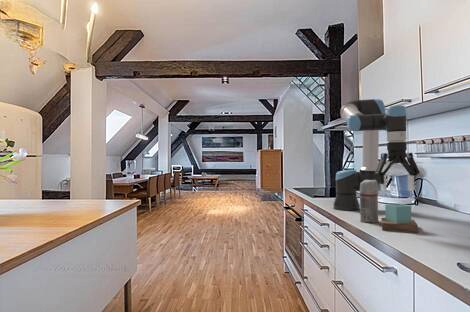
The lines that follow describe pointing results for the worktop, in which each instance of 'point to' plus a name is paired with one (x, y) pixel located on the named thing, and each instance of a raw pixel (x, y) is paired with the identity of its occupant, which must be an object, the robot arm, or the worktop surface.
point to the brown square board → (399, 226)
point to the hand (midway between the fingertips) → (397, 191)
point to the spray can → (369, 201)
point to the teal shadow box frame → (398, 213)
